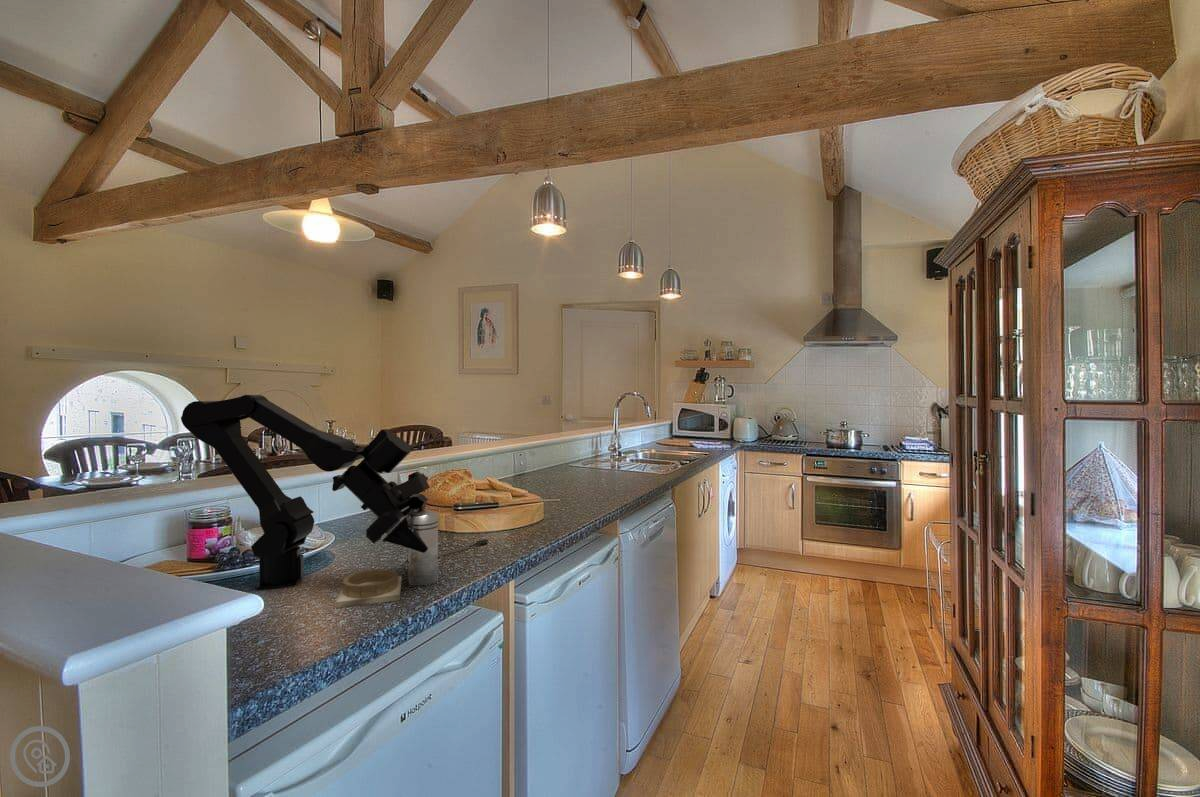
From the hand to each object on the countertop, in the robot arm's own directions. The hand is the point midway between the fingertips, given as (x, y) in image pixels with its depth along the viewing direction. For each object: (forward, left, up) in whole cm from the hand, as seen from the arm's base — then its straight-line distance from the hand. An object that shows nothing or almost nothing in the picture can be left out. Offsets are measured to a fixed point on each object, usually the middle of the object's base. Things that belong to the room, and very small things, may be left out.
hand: (430, 546), depth 101 cm
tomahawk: (+5, +17, -7) cm, 19 cm away
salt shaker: (-1, 0, -7) cm, 7 cm away
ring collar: (-10, -4, -7) cm, 13 cm away
